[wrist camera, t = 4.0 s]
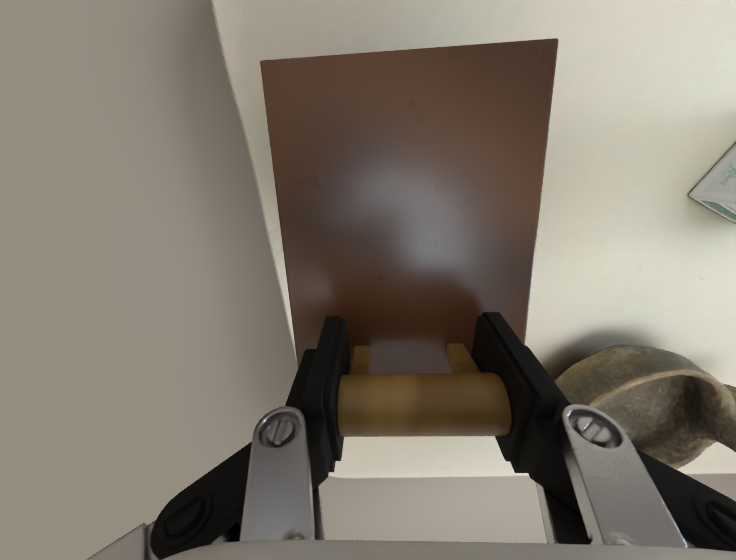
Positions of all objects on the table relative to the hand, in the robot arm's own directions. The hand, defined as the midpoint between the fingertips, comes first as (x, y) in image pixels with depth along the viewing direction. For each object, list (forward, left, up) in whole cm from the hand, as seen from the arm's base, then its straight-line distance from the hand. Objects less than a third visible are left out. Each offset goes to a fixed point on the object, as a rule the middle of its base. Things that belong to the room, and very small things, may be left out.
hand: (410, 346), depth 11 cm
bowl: (+19, +18, -12) cm, 29 cm away
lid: (-3, +1, -2) cm, 4 cm away
